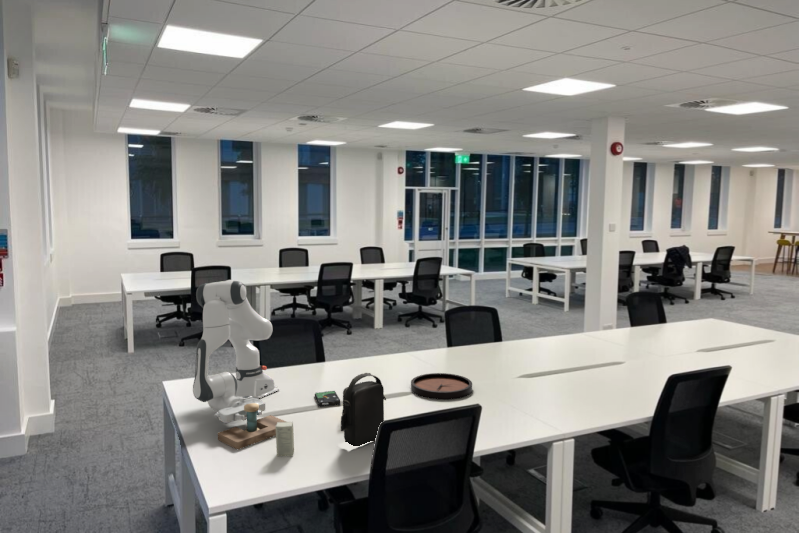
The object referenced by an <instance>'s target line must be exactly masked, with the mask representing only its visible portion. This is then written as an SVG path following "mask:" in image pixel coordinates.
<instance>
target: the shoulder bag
mask: <svg viewBox="0 0 799 533" xmlns="http://www.w3.org/2000/svg"><path fill="white" fill-rule="evenodd" d="M366 377H373V378H374V379H375V381H372V380H371V381H370V380H368V381H362V382H359V381H360V380H361V379H363V378H366ZM358 382H359V383H358ZM384 390H385V388H384V385H383V384H382V381H381V379H380V378H379V377H378V376H376V375H373V374H372V373H371V372H364V373H361V374H357V376H354V377H353V378H352V380H351V381H350V383H349V385H348V387H347V386H346V387H345V388H344V389H343V390H342V391H343V392H342V412H341V416H340V431H341V432H343V439H344V441H345V442H348V443H349V444H351V445H353V446H360V445H362V444H365V443H367V442H370V441H374V442H372V443H373V444H374V443H375V442H376V441H375V438H376V435H377V431H378V427H379V425H380V423H381V422H383V421H384V422H385V406H384V405H385V404H384V401H387V397H386V396H385V395H384V394H385V393H384V392H385V391H384ZM372 443H371V444H372Z"/></svg>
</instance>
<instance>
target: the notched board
mask: <svg viewBox="0 0 799 533" xmlns="http://www.w3.org/2000/svg"><path fill="white" fill-rule="evenodd" d="M277 422H287V421H286V420H284V419H281V418H278V417H276V416H273V415H272V414H270V415H267V416H263V417H261V418H258V419H257V428H259V429H260V430H258V431H255V432H252V433H248V432H246V431H245V429H242V428H240V427H237V426H234V427H231V428H228V429H224V430H222V431H219V432H217V441H219V442H221V443H223V444H225V445H227V446H229V447H232V448H233V449H235V450H237V449H238V450H241V449H244V448H247V447H249V446H252V445H254V443H255V444H258V443H260V442H263V441H266V440H268V439H270V437H271V438H274V437H276V424H277ZM273 436H274V437H273ZM265 439H266V440H265ZM262 440H263V441H262ZM251 444H252V445H251ZM248 445H249V446H248ZM246 446H247V447H246ZM243 447H244V448H243ZM240 448H241V449H240Z"/></svg>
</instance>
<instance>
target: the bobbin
mask: <svg viewBox="0 0 799 533" xmlns="http://www.w3.org/2000/svg"><path fill="white" fill-rule="evenodd" d="M257 410H259V404H256V403H250V404H246V405H245V406H244V411H246V412H247V419H246V428H245V429H244V431H246V432H248V433H252V432H255V431H258V430H260V429H259V428H257V418H258V415H257Z"/></svg>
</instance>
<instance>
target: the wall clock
mask: <svg viewBox="0 0 799 533" xmlns="http://www.w3.org/2000/svg"><path fill="white" fill-rule="evenodd" d="M410 391H411V392H412V393H413V394H414V395H416V396H418V397H421V398H424V399H430V400H437V401H438V400H439V401H443V400H444V401H445V400H447V401H449V400H458V399H459V400H460V399H462V398H466V397H468V396H469V395H471V394H472V393H473V381H472V380H470V378H467V377H465V376H463V375H459V374H454V373H447V372H446V373H443V372H442V373H441V372H433V373H425V374H421V375H417V376H415V377H414V378H412V379H411V381H410Z"/></svg>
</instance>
